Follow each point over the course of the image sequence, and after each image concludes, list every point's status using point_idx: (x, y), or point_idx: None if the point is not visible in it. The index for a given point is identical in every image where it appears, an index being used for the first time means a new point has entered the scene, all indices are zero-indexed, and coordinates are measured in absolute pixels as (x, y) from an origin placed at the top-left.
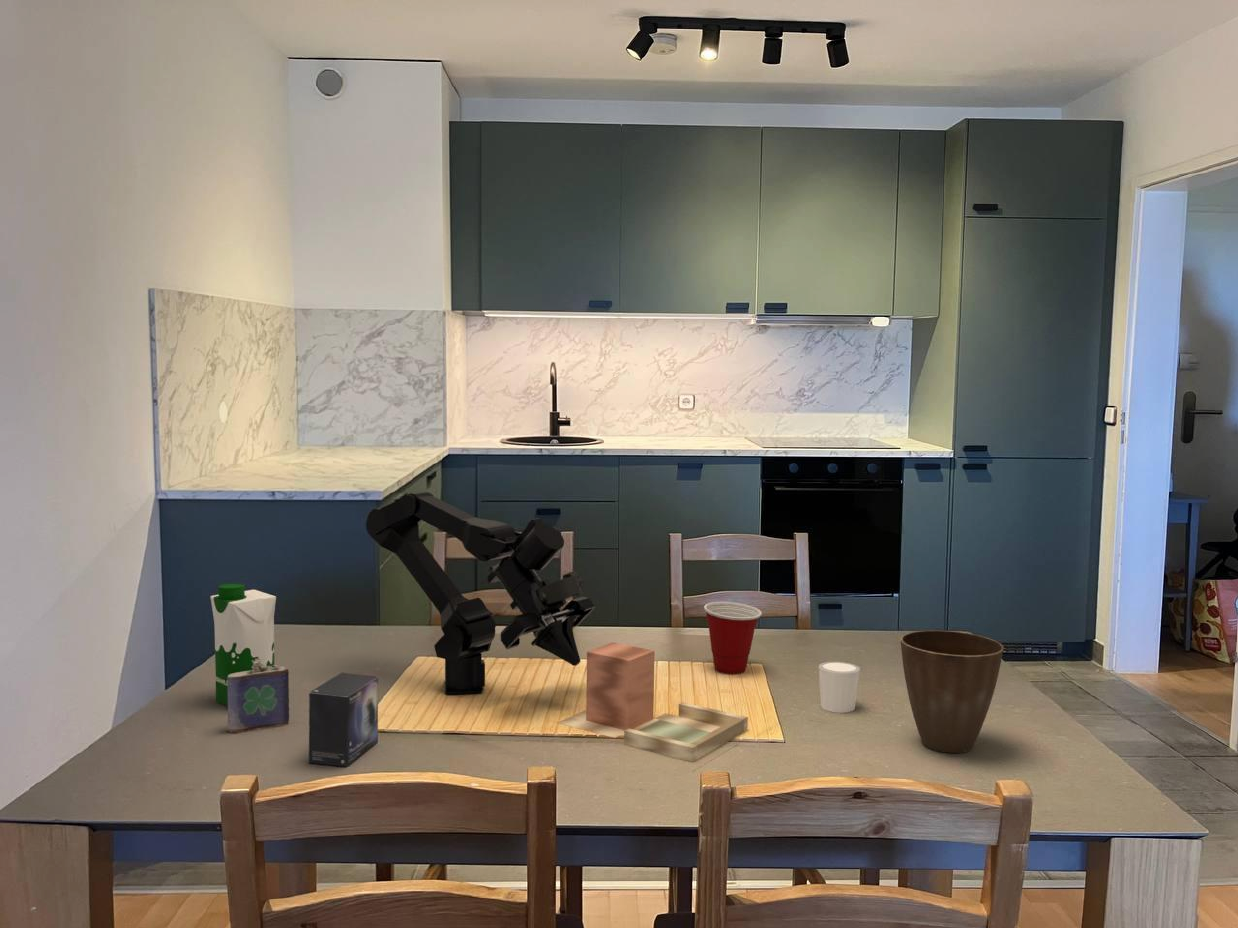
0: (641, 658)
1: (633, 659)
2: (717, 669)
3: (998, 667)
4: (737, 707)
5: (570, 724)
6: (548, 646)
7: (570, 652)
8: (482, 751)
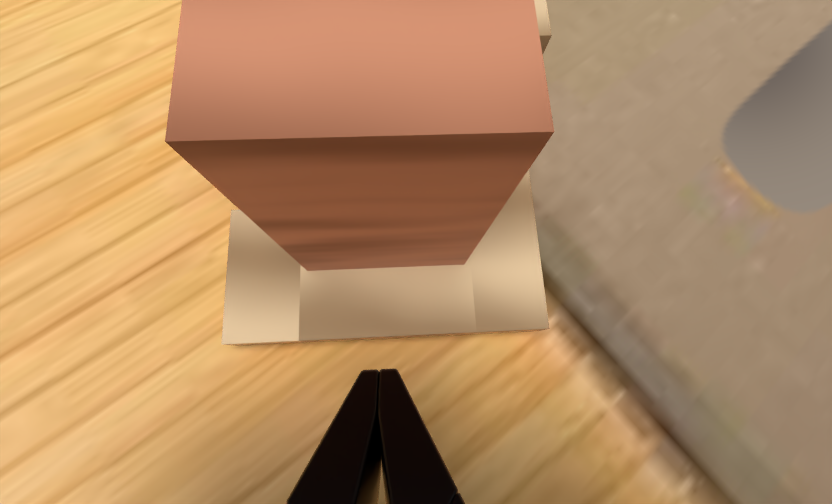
0: None
1: None
2: None
3: None
4: (3, 43)
5: (531, 279)
6: None
7: (424, 427)
8: (824, 397)
